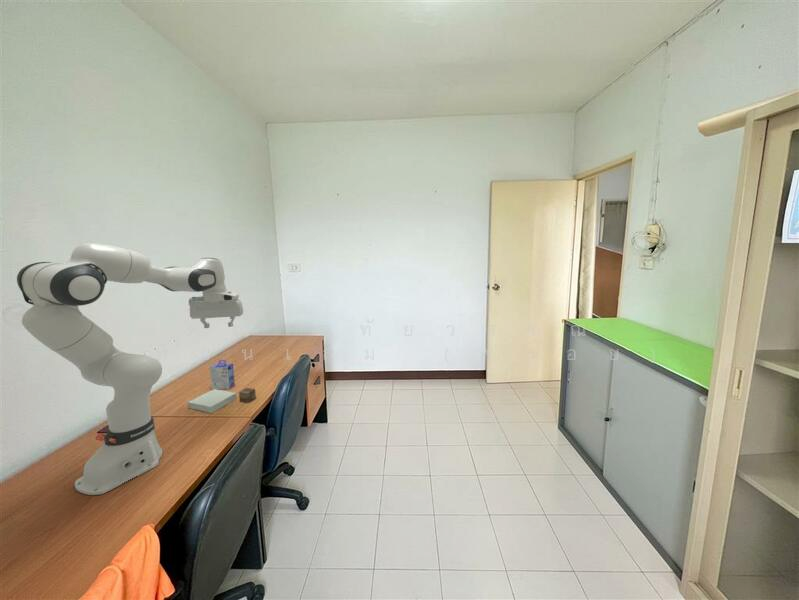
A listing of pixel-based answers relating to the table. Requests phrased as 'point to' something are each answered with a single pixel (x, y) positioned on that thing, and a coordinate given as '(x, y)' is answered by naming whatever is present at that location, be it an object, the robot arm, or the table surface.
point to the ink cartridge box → (222, 375)
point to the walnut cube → (247, 395)
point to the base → (212, 400)
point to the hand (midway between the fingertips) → (219, 327)
